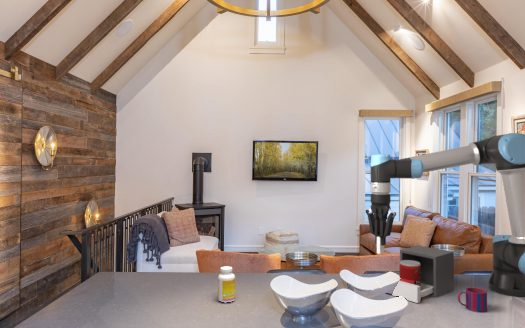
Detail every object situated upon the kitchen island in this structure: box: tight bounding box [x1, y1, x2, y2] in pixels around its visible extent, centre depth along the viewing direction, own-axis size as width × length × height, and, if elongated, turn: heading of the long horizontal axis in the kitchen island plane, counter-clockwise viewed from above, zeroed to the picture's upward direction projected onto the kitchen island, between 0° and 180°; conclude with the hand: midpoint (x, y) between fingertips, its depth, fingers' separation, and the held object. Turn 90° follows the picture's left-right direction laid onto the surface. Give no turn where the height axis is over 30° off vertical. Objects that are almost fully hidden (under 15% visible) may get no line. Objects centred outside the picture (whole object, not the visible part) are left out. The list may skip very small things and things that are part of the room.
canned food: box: [399, 260, 421, 289], centre depth 152 cm, size 8×8×11 cm
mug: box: [457, 286, 488, 313], centre depth 137 cm, size 7×10×7 cm
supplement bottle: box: [217, 265, 236, 303], centre depth 146 cm, size 7×7×13 cm
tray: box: [391, 280, 434, 304], centre depth 152 cm, size 15×15×6 cm
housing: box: [399, 245, 455, 298], centre depth 159 cm, size 16×14×16 cm
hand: (380, 253), depth 148 cm, fingers closed
